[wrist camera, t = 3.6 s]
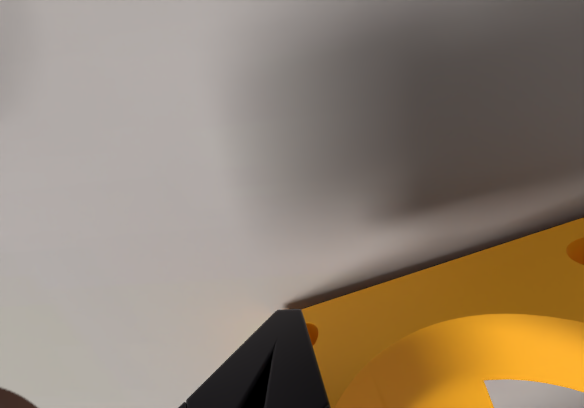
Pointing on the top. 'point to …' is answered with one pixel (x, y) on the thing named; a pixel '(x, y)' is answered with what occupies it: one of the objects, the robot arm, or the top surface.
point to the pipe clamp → (458, 327)
